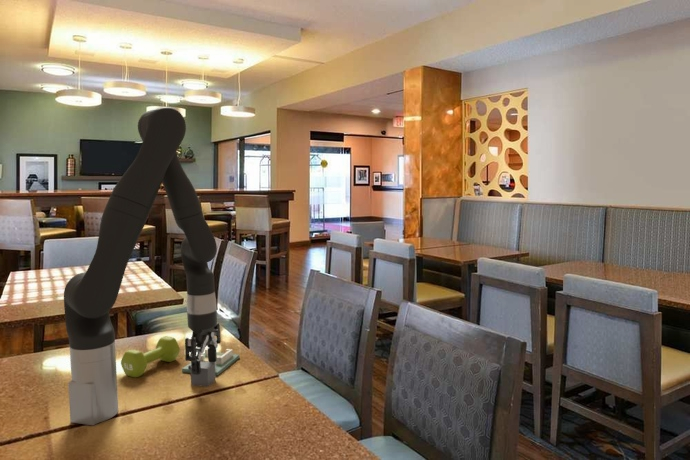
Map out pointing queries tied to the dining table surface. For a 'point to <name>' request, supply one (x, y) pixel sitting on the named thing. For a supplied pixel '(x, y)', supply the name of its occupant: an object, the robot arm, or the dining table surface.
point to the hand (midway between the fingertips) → (204, 367)
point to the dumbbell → (149, 356)
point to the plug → (204, 375)
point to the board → (222, 361)
